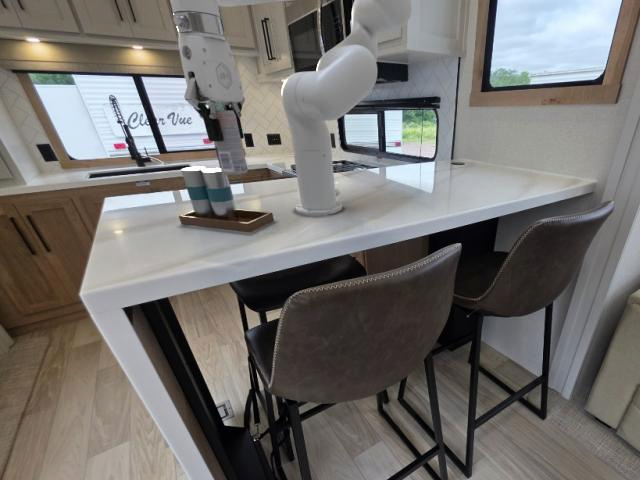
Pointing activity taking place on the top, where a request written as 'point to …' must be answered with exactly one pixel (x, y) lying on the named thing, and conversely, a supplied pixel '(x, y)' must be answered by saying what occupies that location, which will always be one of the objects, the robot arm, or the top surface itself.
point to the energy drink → (230, 145)
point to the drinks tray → (246, 221)
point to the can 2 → (220, 194)
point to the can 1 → (198, 192)
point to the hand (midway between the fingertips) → (227, 138)
